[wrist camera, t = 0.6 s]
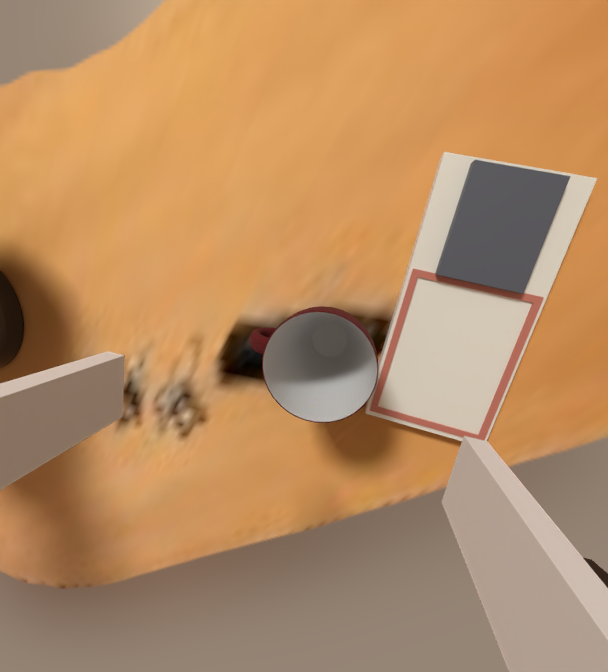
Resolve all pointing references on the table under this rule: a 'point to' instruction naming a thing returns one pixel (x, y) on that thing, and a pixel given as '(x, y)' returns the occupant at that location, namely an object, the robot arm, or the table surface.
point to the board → (474, 292)
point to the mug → (318, 364)
